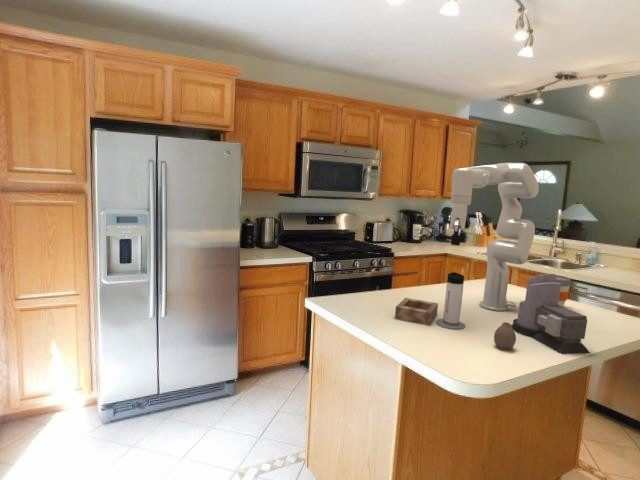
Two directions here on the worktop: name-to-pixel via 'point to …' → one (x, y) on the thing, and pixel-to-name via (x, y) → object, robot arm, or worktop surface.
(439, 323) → the rubber coaster
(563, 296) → the reusable coffee cup
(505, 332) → the vase
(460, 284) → the travel mug
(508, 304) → the robot arm
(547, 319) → the juicer
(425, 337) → the worktop surface
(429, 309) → the brown wooden tray
